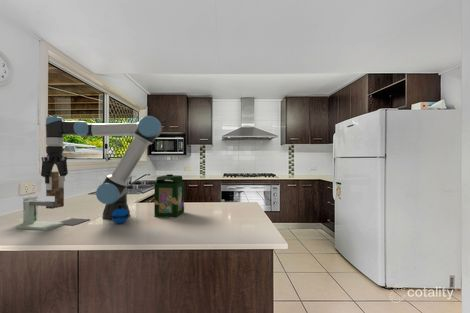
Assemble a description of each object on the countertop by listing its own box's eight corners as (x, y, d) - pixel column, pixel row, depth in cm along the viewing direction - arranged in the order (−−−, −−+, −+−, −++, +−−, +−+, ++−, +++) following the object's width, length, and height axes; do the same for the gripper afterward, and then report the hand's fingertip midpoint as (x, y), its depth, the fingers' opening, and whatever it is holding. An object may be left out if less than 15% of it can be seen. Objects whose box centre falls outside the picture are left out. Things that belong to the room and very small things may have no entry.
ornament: (121, 226, 137) (121, 207, 137) (107, 224, 140) (107, 206, 140) (132, 222, 146) (132, 204, 146) (119, 220, 148) (119, 203, 148)
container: (151, 217, 156) (151, 175, 156) (163, 211, 174) (163, 173, 174) (175, 218, 154) (175, 175, 154) (184, 211, 172) (185, 173, 172)
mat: (90, 220, 150) (90, 219, 150) (73, 225, 138) (73, 224, 138) (71, 218, 152) (71, 218, 152) (54, 224, 140) (54, 223, 140)
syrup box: (22, 224, 140) (22, 197, 140) (25, 221, 145) (25, 195, 145) (36, 223, 143) (35, 196, 143) (38, 220, 148) (38, 194, 148)
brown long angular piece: (63, 206, 143) (64, 171, 144) (52, 208, 136) (53, 172, 137) (57, 206, 144) (57, 171, 144) (46, 208, 137) (46, 172, 137)
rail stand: (63, 225, 139) (63, 199, 139) (47, 230, 129) (46, 203, 129) (35, 223, 142) (35, 198, 142) (16, 228, 132) (16, 202, 132)
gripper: (64, 146, 151) (64, 186, 151) (31, 145, 131) (31, 191, 131) (75, 146, 149) (75, 186, 149) (43, 145, 130) (44, 191, 130)
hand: (55, 188), depth 140 cm, fingers closed on brown long angular piece, 7 cm apart
